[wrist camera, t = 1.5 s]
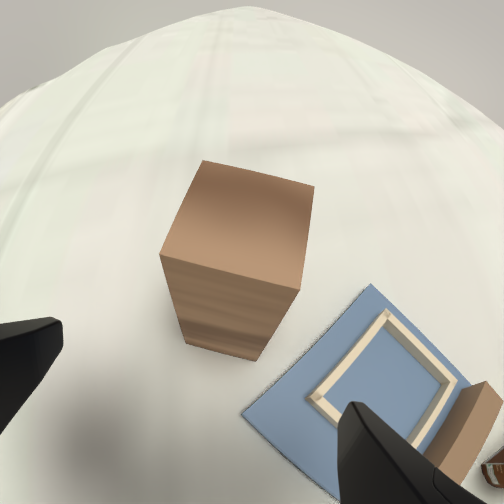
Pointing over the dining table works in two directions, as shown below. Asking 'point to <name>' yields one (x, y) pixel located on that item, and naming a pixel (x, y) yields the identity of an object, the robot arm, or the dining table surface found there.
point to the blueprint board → (375, 394)
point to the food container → (494, 469)
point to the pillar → (236, 257)
